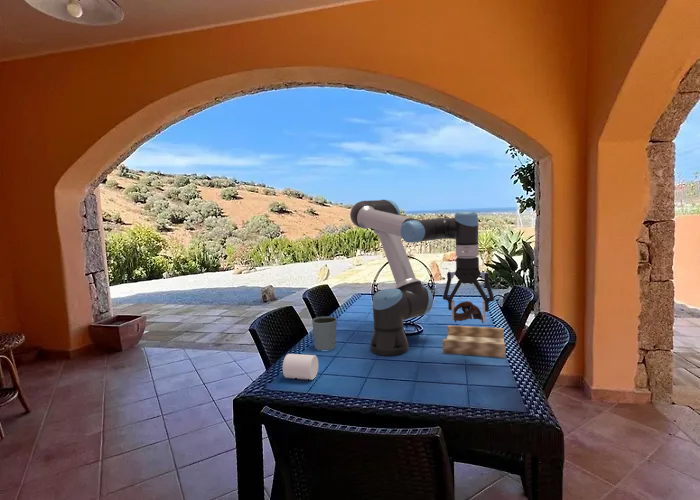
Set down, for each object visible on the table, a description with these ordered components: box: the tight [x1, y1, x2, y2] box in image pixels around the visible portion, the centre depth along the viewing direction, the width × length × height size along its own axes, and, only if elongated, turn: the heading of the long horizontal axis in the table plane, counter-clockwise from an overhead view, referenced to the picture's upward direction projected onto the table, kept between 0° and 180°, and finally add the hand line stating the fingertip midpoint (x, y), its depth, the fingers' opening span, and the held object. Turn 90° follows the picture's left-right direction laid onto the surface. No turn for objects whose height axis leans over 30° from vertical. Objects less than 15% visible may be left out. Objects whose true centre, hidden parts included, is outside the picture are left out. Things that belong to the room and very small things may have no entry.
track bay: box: [442, 324, 506, 359], centre depth 149 cm, size 22×19×5 cm
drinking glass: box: [311, 315, 338, 351], centre depth 156 cm, size 10×10×12 cm
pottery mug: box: [453, 300, 485, 324], centre depth 133 cm, size 12×10×8 cm
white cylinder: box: [282, 353, 319, 381], centre depth 131 cm, size 12×10×8 cm
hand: (468, 319), depth 132 cm, fingers closed on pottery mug, 10 cm apart
